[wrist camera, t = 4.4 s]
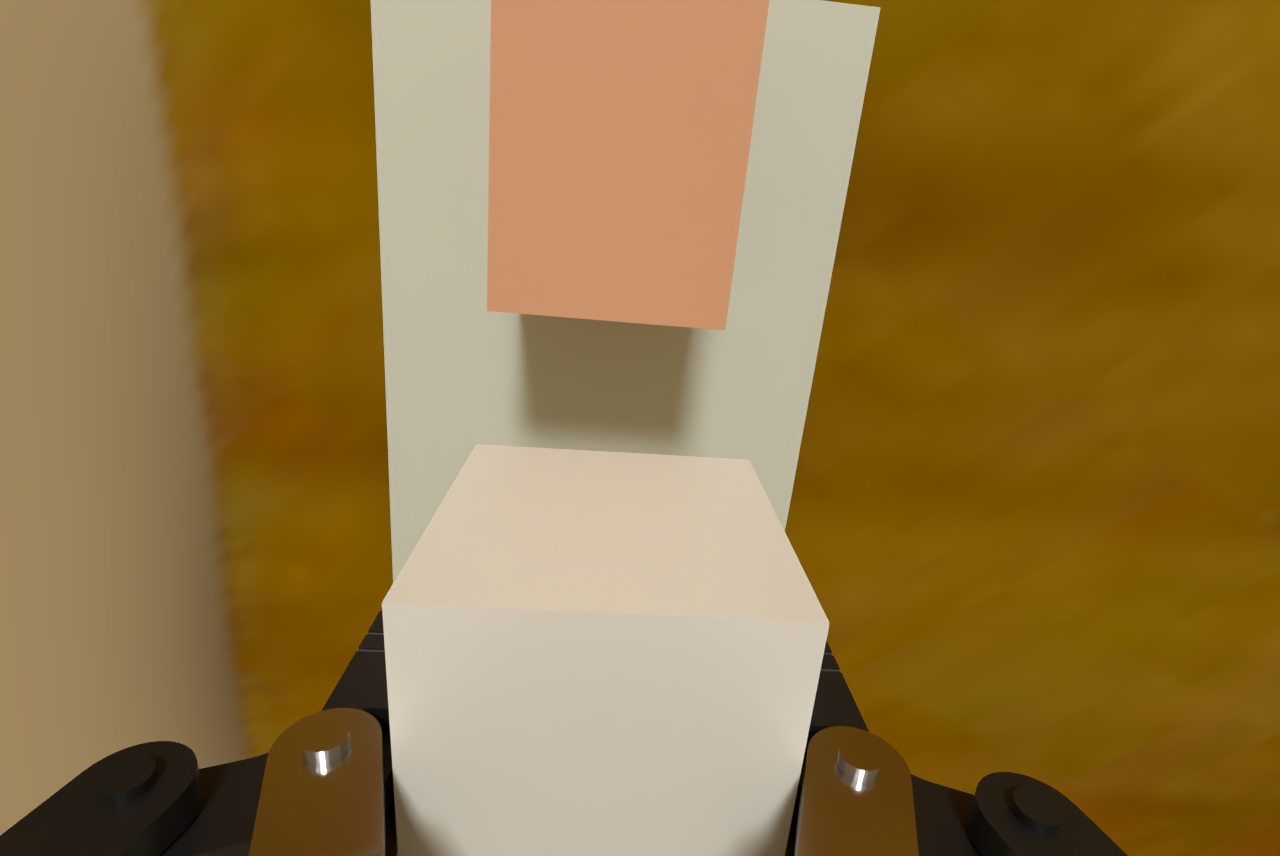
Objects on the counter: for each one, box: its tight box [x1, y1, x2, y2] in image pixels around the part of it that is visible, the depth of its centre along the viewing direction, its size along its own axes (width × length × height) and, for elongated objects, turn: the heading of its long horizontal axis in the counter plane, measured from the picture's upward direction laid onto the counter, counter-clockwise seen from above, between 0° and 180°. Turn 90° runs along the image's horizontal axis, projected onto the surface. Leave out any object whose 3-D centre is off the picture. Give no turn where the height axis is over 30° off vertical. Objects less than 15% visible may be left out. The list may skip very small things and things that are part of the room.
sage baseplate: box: [371, 0, 880, 583], centre depth 20 cm, size 23×12×1 cm, turn 175°
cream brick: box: [382, 444, 830, 856], centre depth 10 cm, size 6×5×5 cm
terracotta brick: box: [487, 0, 770, 330], centre depth 14 cm, size 6×5×5 cm
